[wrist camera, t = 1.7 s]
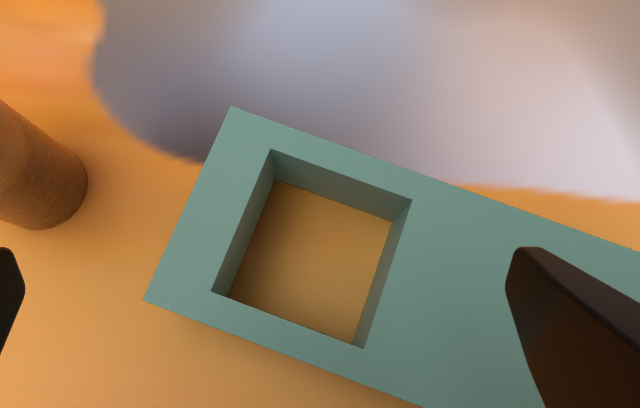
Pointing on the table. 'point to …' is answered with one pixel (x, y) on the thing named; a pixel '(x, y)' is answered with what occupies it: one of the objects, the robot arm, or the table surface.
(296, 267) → the table surface
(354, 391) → the table surface
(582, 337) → the robot arm
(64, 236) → the table surface
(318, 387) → the table surface
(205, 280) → the bar
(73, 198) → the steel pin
